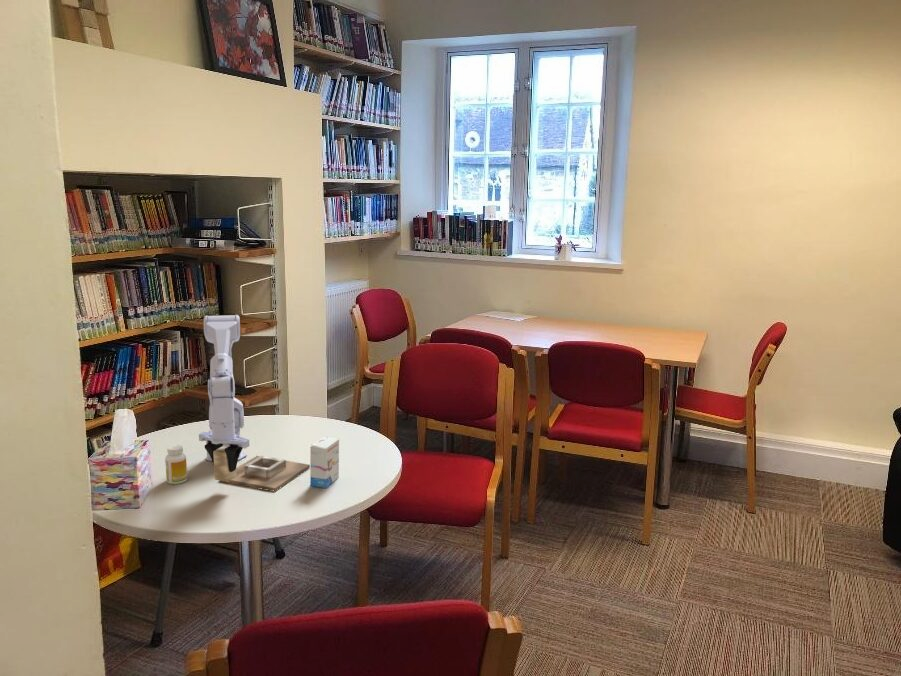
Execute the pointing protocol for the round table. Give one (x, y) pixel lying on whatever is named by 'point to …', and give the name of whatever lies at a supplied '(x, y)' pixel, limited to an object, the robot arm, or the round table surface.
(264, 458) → the well stand
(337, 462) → the ink box
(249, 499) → the round table surface
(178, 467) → the supplement bottle
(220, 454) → the maple post
